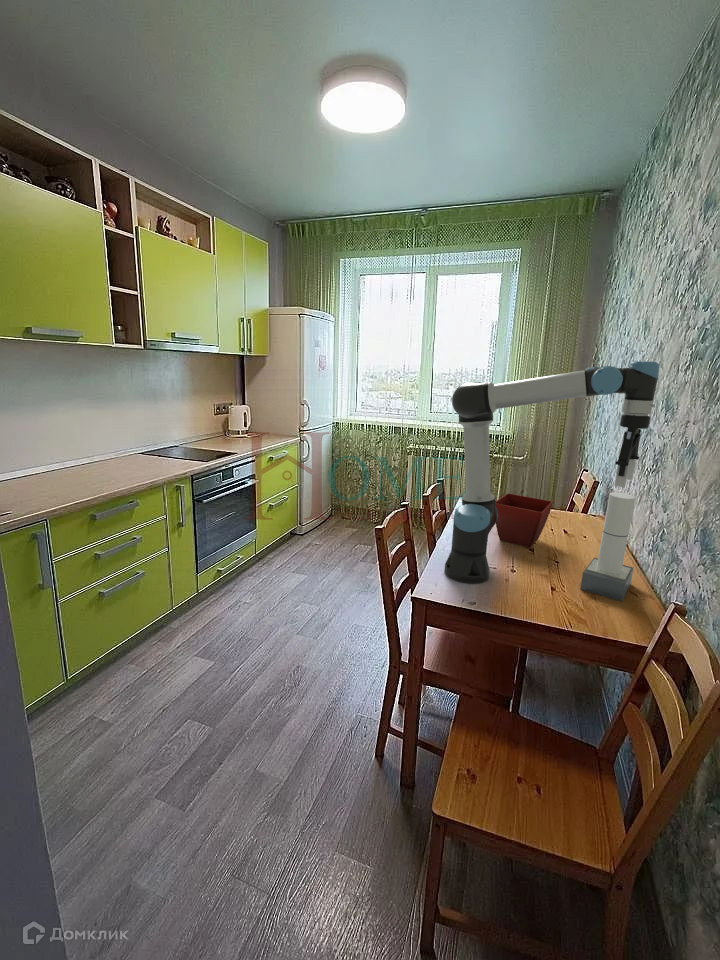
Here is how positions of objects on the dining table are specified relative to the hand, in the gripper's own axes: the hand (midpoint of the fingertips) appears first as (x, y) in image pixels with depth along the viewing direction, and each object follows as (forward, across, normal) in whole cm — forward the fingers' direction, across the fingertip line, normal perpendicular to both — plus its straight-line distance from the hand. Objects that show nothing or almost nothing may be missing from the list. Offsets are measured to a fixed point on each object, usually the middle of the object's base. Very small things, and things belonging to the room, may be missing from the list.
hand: (623, 482), depth 139 cm
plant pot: (+36, +22, +37) cm, 56 cm away
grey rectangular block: (+36, 0, 0) cm, 36 cm away
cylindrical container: (+29, 0, 0) cm, 29 cm away
